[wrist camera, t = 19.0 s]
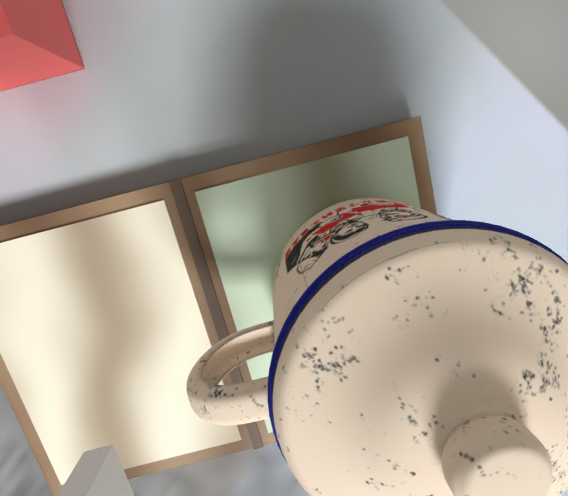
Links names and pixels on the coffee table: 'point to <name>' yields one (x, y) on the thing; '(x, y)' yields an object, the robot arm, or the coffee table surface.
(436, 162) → the coffee table surface
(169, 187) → the wooden picture frame
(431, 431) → the teacup with lid
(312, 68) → the coffee table surface
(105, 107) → the coffee table surface
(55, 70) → the red die
